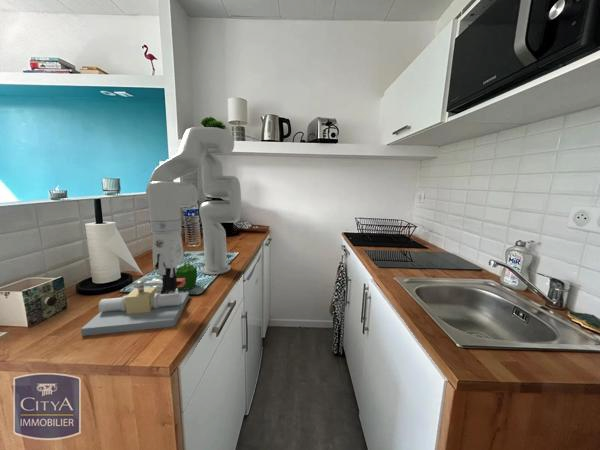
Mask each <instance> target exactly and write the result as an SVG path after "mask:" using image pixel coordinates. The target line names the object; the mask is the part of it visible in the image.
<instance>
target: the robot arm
mask: <svg viewBox="0 0 600 450" xmlns="http://www.w3.org/2000/svg"><path fill="white" fill-rule="evenodd" d="M234 148H235V140H234V137H233V135H232V133H231V132H229V130H225V129H222V128H220V127H217V126H216V127H213V126H193V127H189V128H187V129H186V130H185V131H184V133H183V136H182V139H181V141H180V143H179V146H178V149H177V151H176V154H175V155H173V156H172V157H170V158H169V159H166V160H165V161H164V162H162V163H161V164H160V165H158V166H157V167H156V168H155V169H154V170H153V171H152V173H151V175H150V178H149V180H148V183H147V185H146V189H145V197H146V200H147V202H148V205H149V206H148V209H149V210H148V211H149V220H150V221H149V222H150V225H149V226H150V233H151V234H152V264H153V268H154V269H155V270H158V273H157V274H158V276H161V280H163V290H162V291H163V292H172V291H173V292H174V291H176V289H177V278H176V274H177V268H178V266H179V265H181V264H182V263H183V261H185V256H184V255H185V254H184V246H183V245H184V244H183V238H182V237H183V236H182V214H181V213H182V212H181V208H189V207H192V206H195V205H196V204H197V202H198V201H199V197H200V195H199V194H200V193H199V190H198V188H197V186H195V185H194V184H193V183H190V182H183V181H181V182H180V181H179V182H178V181H177V182H176V181H175V180H176V179H178V178H179V179H180V178H182V177H185V176H188V175H190V174H193V173H196V172H198V171H200V170H201V185H202V192H203V194H204V196H205V197H208V198H214V199H215V198H216V199H220V198H221V199H222V198H223V199H228V200H207V201H203V202H202V203H201V204H200V206H199V209H198V210H199V217H200V220H201V226H202V233H203V250H204V251H203V253H204V256H203V257H204V266H203V267H202V268H201V273H203V274H205V275H210V276H211V275H212V276H213V275H215V274H216V275H221V274H226V273H227V272H230V271H231V269H232V268H231V267H232V266H231V265H230V264H228V258H227V256H228V252H227V233H226V228H224V226H223V225H222V224H223V223H237V222H239V221H240V220H241V218H242V190H241V182H240V180H239V178H238V177H236V176H235V175H223V163H222V162H221V160H220V158H219V157H218V156H217V155H216V154H231V153H232V152H233V150H234Z"/></svg>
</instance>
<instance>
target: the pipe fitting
mask: <svg viewBox="0 0 600 450" xmlns="http://www.w3.org/2000/svg"><path fill="white" fill-rule="evenodd" d="M154 280H162V278H156V277H155V278H152V280H151V281H154ZM153 287H156V293H161V294H162V291H163V286H150V288H153Z"/></svg>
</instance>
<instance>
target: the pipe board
mask: <svg viewBox="0 0 600 450" xmlns="http://www.w3.org/2000/svg"><path fill="white" fill-rule="evenodd" d="M189 293H190V292H189V291H185V292H183V291H182V292H173V293H162V292H161V293H156V287H153V288H151V287H144V291H143V292H138V289H137V288H133V289H132V290H131V291H130V292H129V293H128V294H127V295H123V296H121V297H120V296H119V297H115V298H114V297H112V298H102V299H100V300H99V303H98V311H99V313H98V314H96V315H95V316H94V317H93V318H91V320H89V322H87V323H85V325H83V327H81V328H80V331H81V332H80V333H81V336H82V337H84V336H85V337H86V336H87V337H88V336H96V335H104V334H113V333H114V334H115V333H124V332H125V333H126V332H133V331H134V332H135V331H142V330H143V331H144V330H151V329H163V328H171V327H172V328H173V327H175V326H176V324H177V322H178V321H179V318H180V316H181V314H182V312H183V310H184V309H185V306H186V304H187V303H188V301H189V299H190V294H189Z"/></svg>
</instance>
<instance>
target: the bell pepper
mask: <svg viewBox="0 0 600 450" xmlns="http://www.w3.org/2000/svg"><path fill="white" fill-rule="evenodd" d="M176 278H185V282H186V284H185V285H184V286H183V287H177V288H176V289H177V290H180V291H183V290H191V289H194V288H195V286H196V284H197V280H198V279H197V278H198V270H197V268H196V267H194V265H193V264H191V263H189V262H186V263H185V262H184V264H183V265H180V266H179V267H177V274H176Z"/></svg>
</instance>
